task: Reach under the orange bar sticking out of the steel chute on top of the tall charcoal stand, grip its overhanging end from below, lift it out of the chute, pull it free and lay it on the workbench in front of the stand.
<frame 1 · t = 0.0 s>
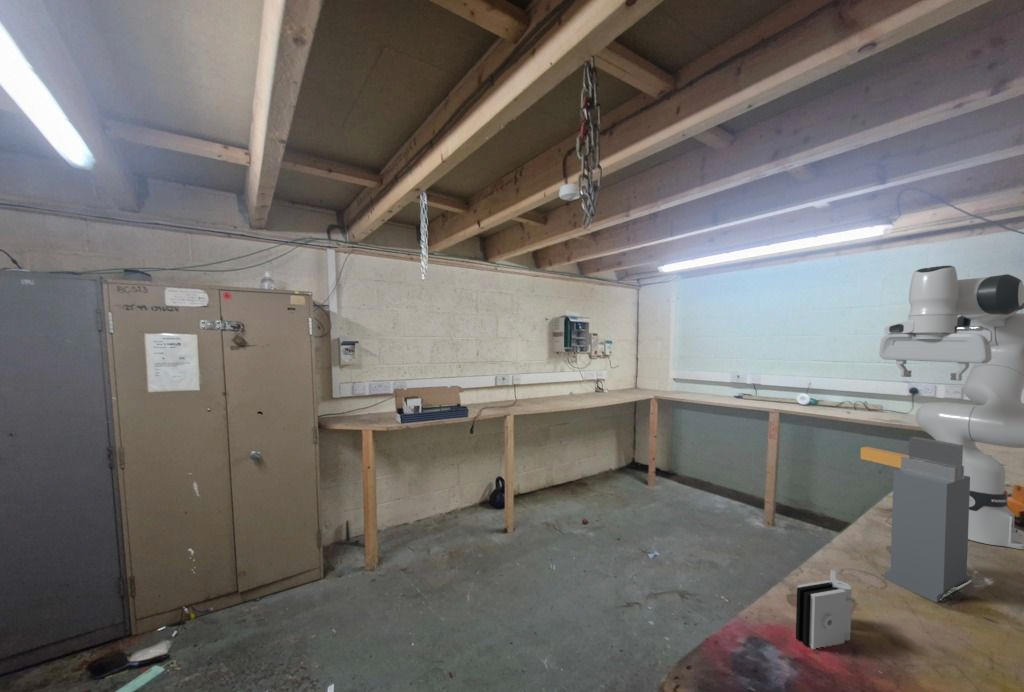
hand: (930, 378, 101), 48 cm above the workbench, tool pointing down, fingers open, 8 cm apart
hinge: (822, 633, 75), on the workbench
stand: (927, 580, 92), on the workbench
bar: (905, 467, 95), point 26 cm above the workbench, touching stand
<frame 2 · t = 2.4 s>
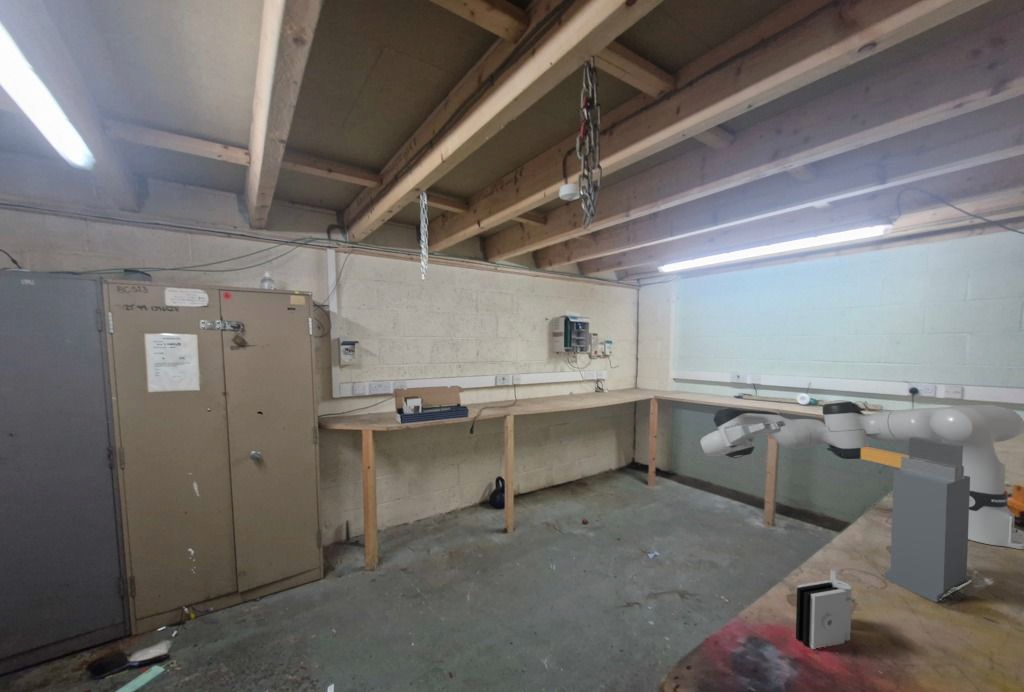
hand: (774, 423, 124), 30 cm above the workbench, tool pointing upward, fingers open, 8 cm apart
nothing on the workbench moved.
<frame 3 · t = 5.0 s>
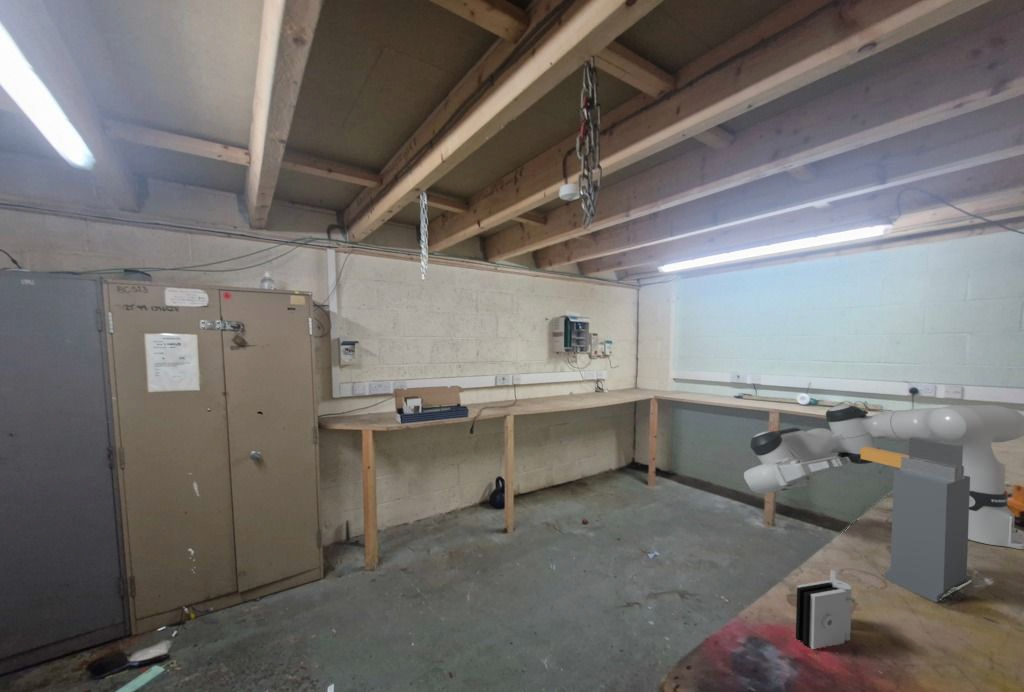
hand: (839, 461, 108), 23 cm above the workbench, tool pointing upward, fingers open, 8 cm apart
nothing on the workbench moved.
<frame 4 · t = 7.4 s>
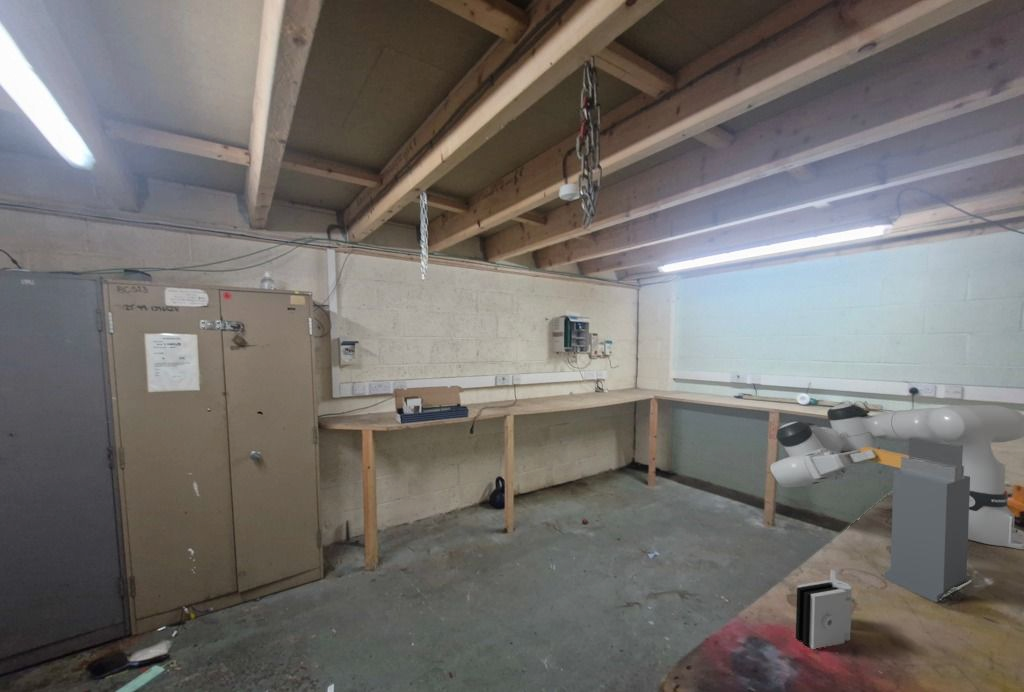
hand: (879, 452, 100), 28 cm above the workbench, tool pointing upward, fingers closed on bar, 3 cm apart
bar: (905, 467, 95), point 26 cm above the workbench, touching gripper
everything else where it was.
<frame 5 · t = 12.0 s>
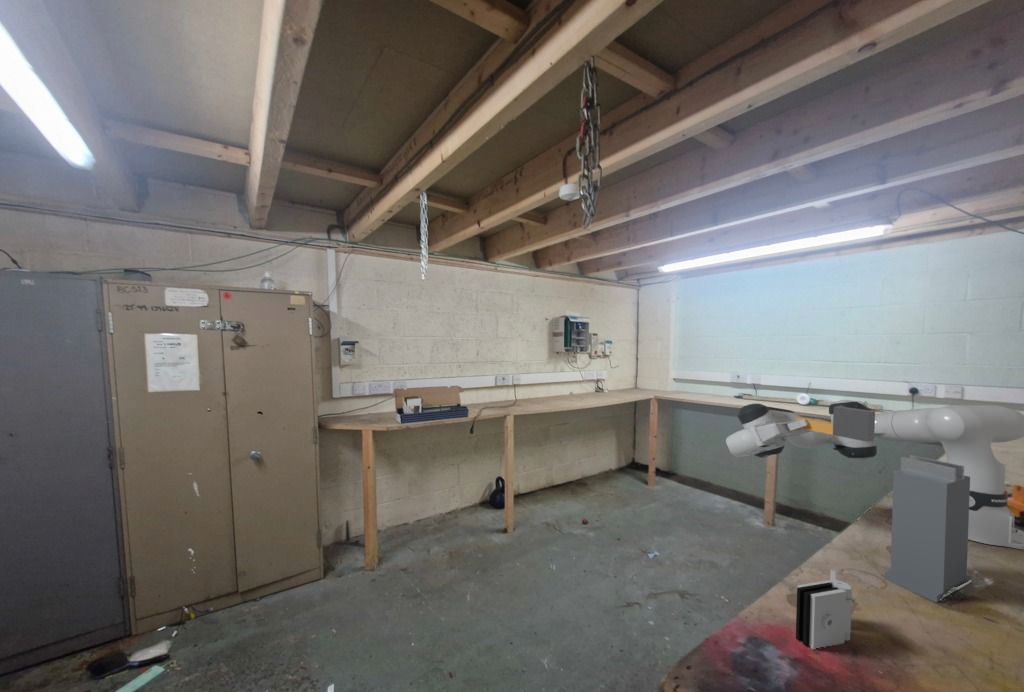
hand: (811, 421, 114), 33 cm above the workbench, tool pointing upward, fingers closed on bar, 3 cm apart
bar: (831, 433, 110), point 31 cm above the workbench, touching gripper
everything else where it was.
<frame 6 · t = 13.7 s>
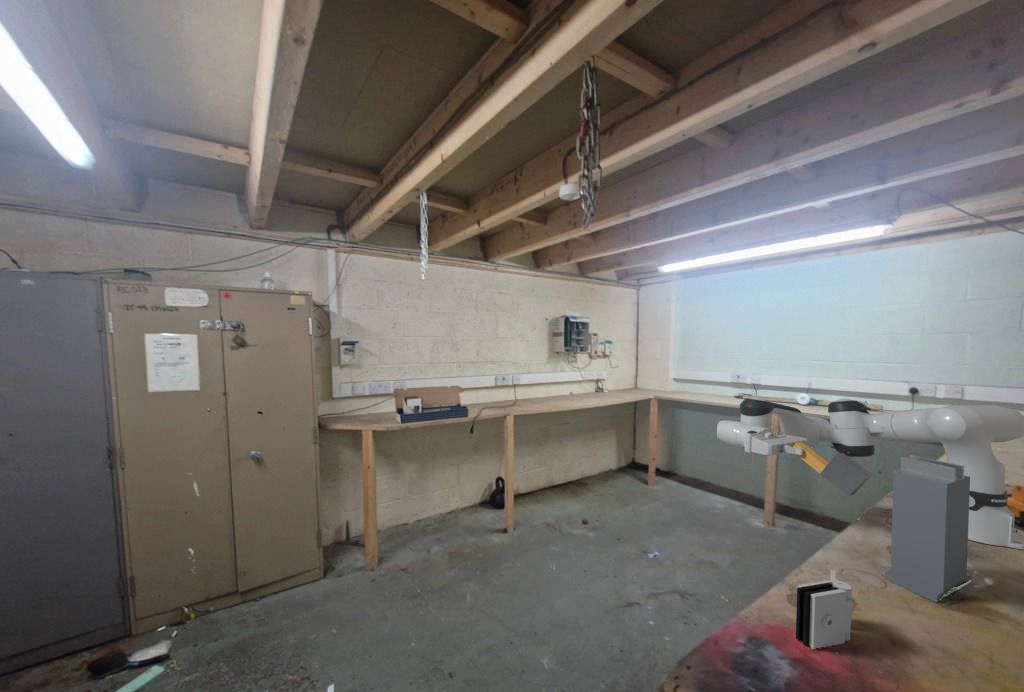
hand: (807, 451, 115), 24 cm above the workbench, tool horizontal, fingers closed on bar, 3 cm apart
bar: (819, 470, 112), point 19 cm above the workbench, tilted 30°, touching gripper
everything else where it was.
when the fingers open (11 cm above the workbench, at t = 16.4 s): bar drops 6 cm, on the workbench.
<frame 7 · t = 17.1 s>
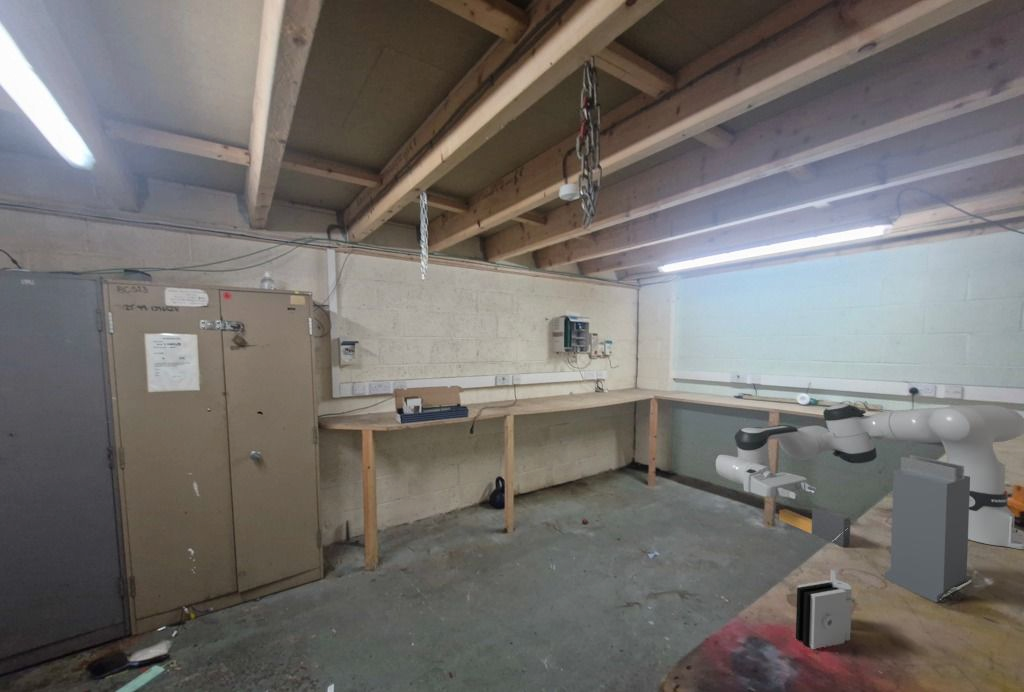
hand: (806, 493, 116), 11 cm above the workbench, tool horizontal, fingers open, 8 cm apart
bar: (811, 531, 115), on the workbench
everything else where it was.
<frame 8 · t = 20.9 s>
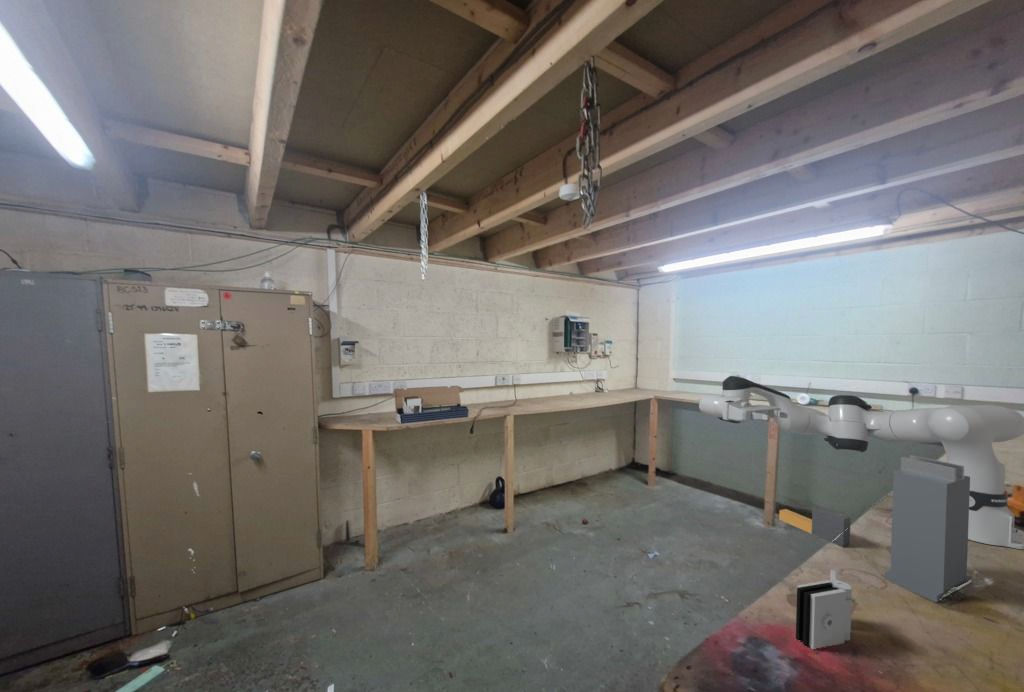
hand: (777, 416, 128), 32 cm above the workbench, tool horizontal, fingers open, 8 cm apart
nothing on the workbench moved.
at the end: bar moved 33.3 cm from its start; bar inside the target area (3.3 cm from its centre), on the workbench; the gripper is holding nothing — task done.
